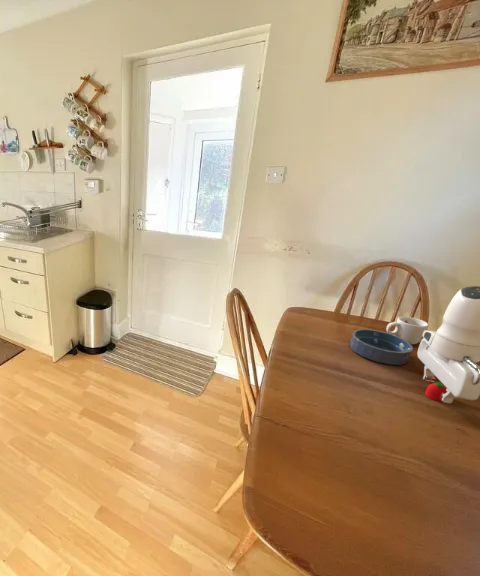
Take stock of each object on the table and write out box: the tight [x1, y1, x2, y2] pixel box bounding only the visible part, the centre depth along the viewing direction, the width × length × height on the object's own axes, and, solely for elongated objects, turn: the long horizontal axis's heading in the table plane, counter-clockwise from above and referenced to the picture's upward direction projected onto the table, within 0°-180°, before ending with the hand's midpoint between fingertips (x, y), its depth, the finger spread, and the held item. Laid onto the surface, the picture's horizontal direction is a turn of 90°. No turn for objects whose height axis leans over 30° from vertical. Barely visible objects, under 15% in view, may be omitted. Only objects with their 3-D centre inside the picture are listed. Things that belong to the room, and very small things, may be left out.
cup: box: [385, 315, 429, 345], centre depth 112 cm, size 11×8×8 cm
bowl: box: [348, 328, 414, 366], centre depth 105 cm, size 15×15×5 cm
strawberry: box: [424, 381, 447, 402], centre depth 85 cm, size 4×4×4 cm
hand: (436, 391), depth 85 cm, fingers open, 7 cm apart
